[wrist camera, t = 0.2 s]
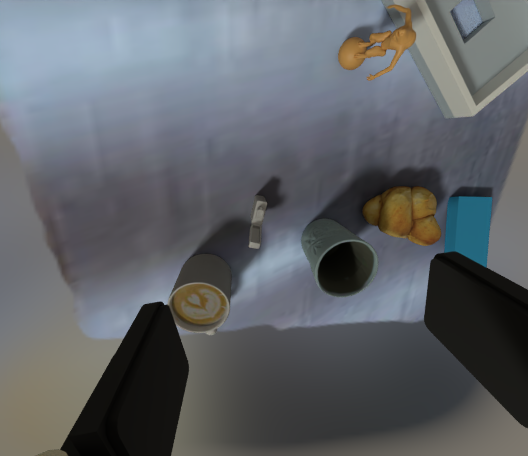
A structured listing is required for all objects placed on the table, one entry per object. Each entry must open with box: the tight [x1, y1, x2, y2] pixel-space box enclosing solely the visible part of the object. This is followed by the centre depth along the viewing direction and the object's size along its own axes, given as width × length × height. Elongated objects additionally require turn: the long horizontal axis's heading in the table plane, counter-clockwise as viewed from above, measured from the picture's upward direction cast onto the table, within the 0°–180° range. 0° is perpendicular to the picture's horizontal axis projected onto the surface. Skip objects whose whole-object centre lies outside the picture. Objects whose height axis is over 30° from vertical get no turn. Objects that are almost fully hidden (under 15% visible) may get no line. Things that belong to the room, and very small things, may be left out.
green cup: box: [301, 218, 378, 297], centre depth 44 cm, size 10×10×12 cm
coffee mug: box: [167, 254, 232, 335], centre depth 46 cm, size 13×10×10 cm
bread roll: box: [363, 186, 441, 246], centre depth 45 cm, size 13×10×8 cm
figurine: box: [338, 4, 416, 81], centre depth 33 cm, size 8×6×12 cm
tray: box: [382, 0, 528, 118], centre depth 36 cm, size 22×17×6 cm
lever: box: [444, 196, 492, 267], centre depth 51 cm, size 7×7×18 cm
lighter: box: [249, 195, 267, 249], centre depth 43 cm, size 7×2×8 cm, turn 166°
